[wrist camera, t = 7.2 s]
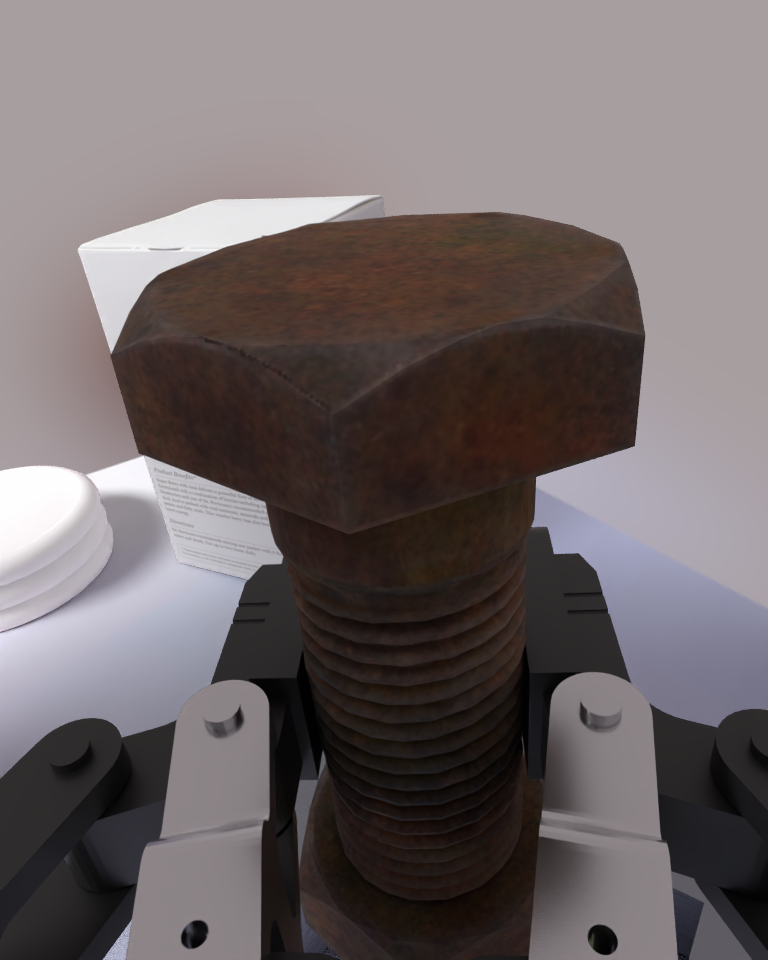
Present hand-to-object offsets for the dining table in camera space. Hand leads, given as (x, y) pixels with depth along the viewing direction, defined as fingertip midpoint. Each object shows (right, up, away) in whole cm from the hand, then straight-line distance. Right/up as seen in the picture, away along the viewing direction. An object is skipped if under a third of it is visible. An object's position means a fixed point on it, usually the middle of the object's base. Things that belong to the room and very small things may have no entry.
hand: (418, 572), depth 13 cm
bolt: (+1, -9, +2) cm, 9 cm away
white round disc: (-19, -3, +22) cm, 29 cm away
